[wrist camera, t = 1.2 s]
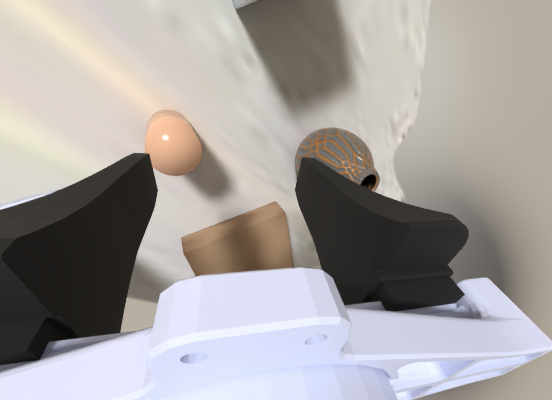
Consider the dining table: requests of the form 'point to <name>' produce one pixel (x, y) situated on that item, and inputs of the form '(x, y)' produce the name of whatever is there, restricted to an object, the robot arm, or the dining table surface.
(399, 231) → the robot arm
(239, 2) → the medicine box
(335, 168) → the vase
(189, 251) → the brown wooden box
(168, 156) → the peach rounded cylinder
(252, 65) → the dining table surface
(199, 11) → the dining table surface
